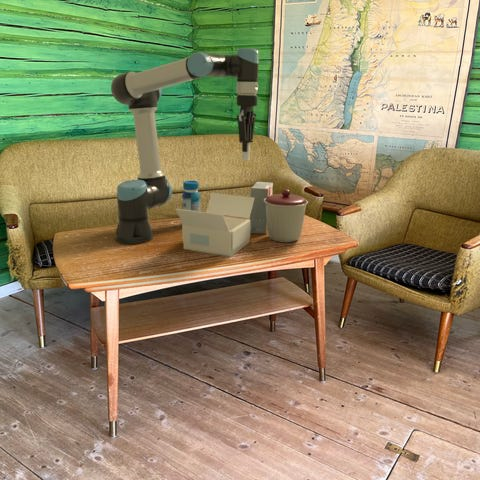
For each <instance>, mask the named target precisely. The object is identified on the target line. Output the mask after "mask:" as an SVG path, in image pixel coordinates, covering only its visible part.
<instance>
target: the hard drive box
mask: <svg viewBox="0 0 480 480" xmlns="http://www.w3.org/2000/svg"><path fill="white" fill-rule="evenodd" d="M273 187H274V183H273V182H267V181H257V182H255V183H254V184H253V186H252V187H250V197H253V198H254V202H253V206H252V210H251V214H250V217H249V220H251V224H250V234H260V235H261V234H262V235H266V234H268V230H267V220H266V207H265V202H264V199H265V198H267V197H268V196H271V195H273Z"/></svg>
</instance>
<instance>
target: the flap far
mask: <svg viewBox="0 0 480 480" xmlns="http://www.w3.org/2000/svg"><path fill="white" fill-rule="evenodd" d="M253 202H254V198H253V197H251V196H243V195H234V194H224V193H218V192H217V193H216V192H211V194H210V198H209V201H208V204H207V207H206V211H205V212H208V213H215V214H223V215H224V216H226V217H234V218H241V219H250V214H251V210H252V206H253Z"/></svg>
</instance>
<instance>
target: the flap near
mask: <svg viewBox="0 0 480 480" xmlns="http://www.w3.org/2000/svg"><path fill="white" fill-rule="evenodd" d="M175 212H176V213H177V215H178V217H179V219H180V221H181V224H183V225H188V226H195V227H202V228H209V229H216V230H223V231H229V228H228V225H227V222H226V220H225V217H224V216H225V215H223V214H215V213H208V212H206V211H201V210H200V211H192V210H185V209H182V208H178V207H177V208H175Z"/></svg>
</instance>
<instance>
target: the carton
mask: <svg viewBox="0 0 480 480" xmlns="http://www.w3.org/2000/svg"><path fill="white" fill-rule="evenodd" d="M224 217H225V220H226V222H227V225H228V228H229V231H223V230H216V229H209V228H202V227H195V226H188V225H183V223H181V226H182V228H181V229H182V243H183V250H186V251H192V252H198V253H203V254H204V253H205V254H210V255H216V256H222V257H228V258H231V257H233V256H234V255H236V254H237V253H238V252H239V251H241V250H242V249H244V248H245V247H246V246H247V245H249V243H250V238H251V233H250V224H251V220H250V218H241V217H234V216H226V215H224Z"/></svg>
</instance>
